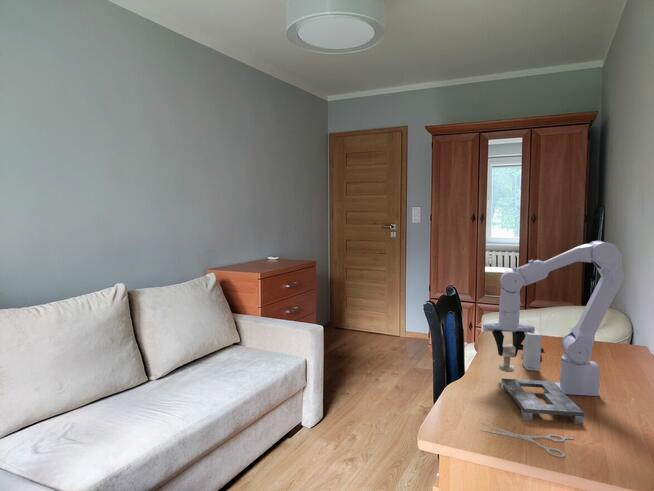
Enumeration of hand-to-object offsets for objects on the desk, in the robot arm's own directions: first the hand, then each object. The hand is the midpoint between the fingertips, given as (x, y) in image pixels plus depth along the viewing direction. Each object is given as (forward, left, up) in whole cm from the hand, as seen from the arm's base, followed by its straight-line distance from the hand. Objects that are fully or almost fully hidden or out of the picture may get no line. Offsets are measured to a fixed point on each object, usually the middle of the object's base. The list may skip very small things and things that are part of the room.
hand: (507, 355), depth 134 cm
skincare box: (-12, -14, -8) cm, 20 cm away
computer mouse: (-14, -28, -9) cm, 33 cm away
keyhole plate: (-4, +16, -8) cm, 18 cm away
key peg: (0, 0, -5) cm, 4 cm away
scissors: (+6, +35, -9) cm, 36 cm away
